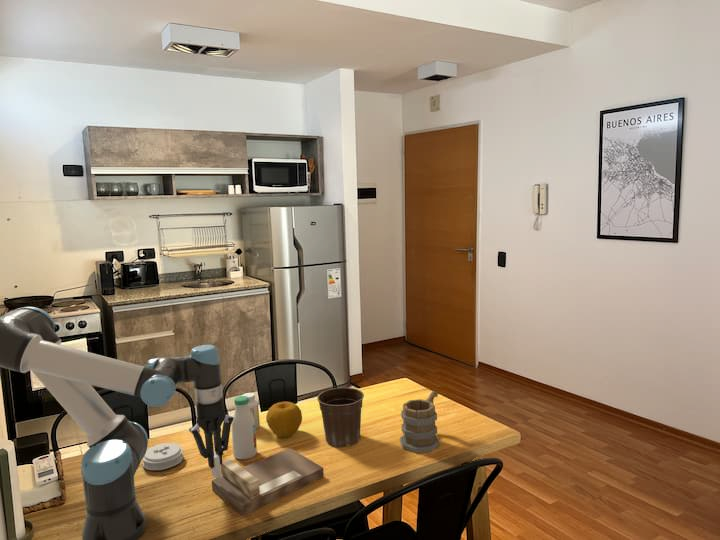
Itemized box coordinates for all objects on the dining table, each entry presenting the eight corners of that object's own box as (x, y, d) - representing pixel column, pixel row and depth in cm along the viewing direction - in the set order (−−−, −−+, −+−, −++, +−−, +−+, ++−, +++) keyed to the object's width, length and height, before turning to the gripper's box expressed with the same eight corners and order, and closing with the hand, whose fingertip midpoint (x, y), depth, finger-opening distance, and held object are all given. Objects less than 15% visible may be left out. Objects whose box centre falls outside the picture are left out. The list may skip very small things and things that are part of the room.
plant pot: (313, 448, 182) (310, 403, 179) (327, 427, 197) (325, 386, 195) (359, 452, 178) (357, 406, 176) (369, 430, 193) (368, 388, 191)
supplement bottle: (252, 422, 204) (249, 390, 202) (263, 426, 200) (261, 394, 198) (238, 428, 199) (235, 395, 197) (249, 433, 195) (247, 399, 193)
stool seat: (242, 515, 145) (242, 505, 145) (212, 489, 158) (211, 480, 158) (323, 476, 163) (323, 467, 163) (290, 456, 177) (289, 447, 176)
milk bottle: (251, 461, 175) (247, 403, 172) (229, 459, 176) (225, 402, 173) (260, 449, 182) (256, 394, 179) (239, 448, 184) (235, 393, 181)
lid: (186, 451, 183) (185, 438, 182) (180, 470, 171) (178, 456, 170) (148, 455, 181) (146, 442, 180) (138, 475, 169) (137, 460, 168)
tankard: (426, 456, 174) (425, 413, 171) (394, 446, 181) (392, 404, 179) (454, 433, 189) (454, 393, 187) (423, 424, 197) (423, 386, 195)
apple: (269, 445, 185) (267, 413, 183) (265, 429, 198) (263, 400, 196) (305, 439, 189) (304, 408, 187) (299, 424, 201) (298, 395, 199)
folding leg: (259, 493, 150) (258, 479, 149) (250, 497, 148) (249, 484, 147) (230, 470, 163) (229, 458, 162) (221, 474, 161) (220, 462, 160)
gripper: (193, 410, 145) (201, 490, 148) (236, 396, 153) (242, 472, 157) (181, 402, 150) (189, 480, 154) (224, 389, 159) (230, 463, 162)
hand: (216, 475), depth 155 cm, fingers closed
